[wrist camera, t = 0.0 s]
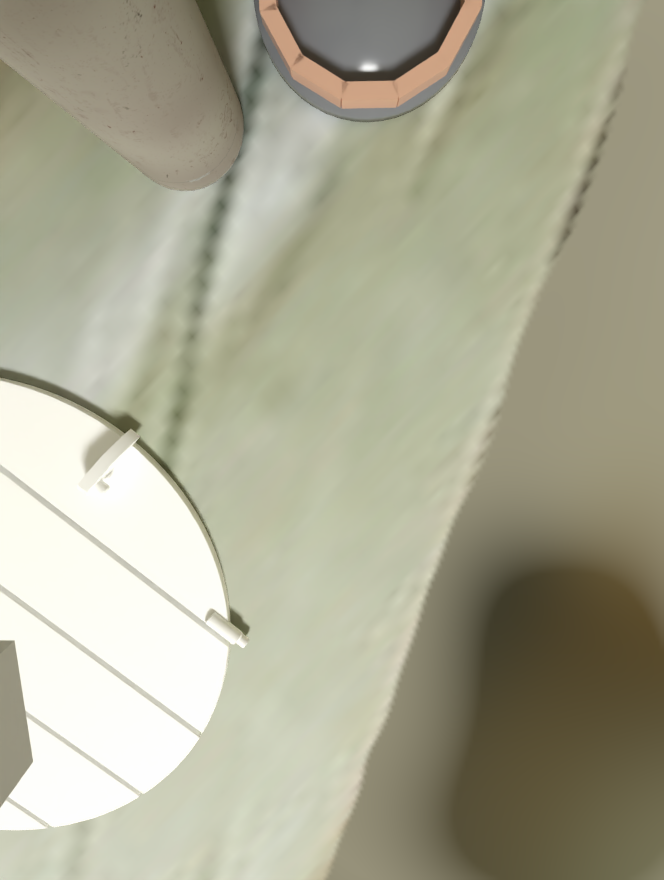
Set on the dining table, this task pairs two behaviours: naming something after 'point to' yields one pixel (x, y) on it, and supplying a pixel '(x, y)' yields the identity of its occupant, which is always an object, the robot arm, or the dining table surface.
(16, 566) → the lazy susan
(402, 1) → the coaster
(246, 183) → the dining table surface
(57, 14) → the thermos bottle
